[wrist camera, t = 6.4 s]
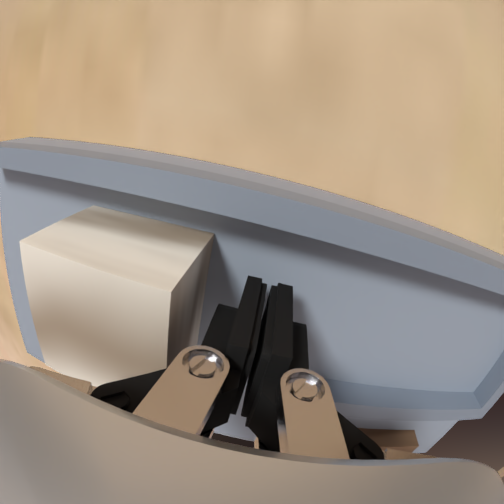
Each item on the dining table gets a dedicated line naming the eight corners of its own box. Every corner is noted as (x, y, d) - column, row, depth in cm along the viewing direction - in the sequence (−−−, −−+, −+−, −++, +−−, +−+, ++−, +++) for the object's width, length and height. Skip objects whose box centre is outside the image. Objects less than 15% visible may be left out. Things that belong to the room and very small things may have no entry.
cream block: (93, 205, 11) (19, 241, 7) (214, 233, 11) (170, 292, 7) (96, 310, 13) (45, 365, 9) (197, 344, 13) (165, 418, 9)
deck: (30, 137, 13) (-19, 145, 9) (525, 266, 12) (563, 296, 8) (44, 334, 19) (16, 363, 15) (418, 429, 18) (429, 467, 14)
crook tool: (294, 399, 14) (293, 420, 13) (429, 413, 14) (435, 429, 12) (277, 430, 15) (275, 449, 14) (403, 441, 15) (406, 456, 14)
